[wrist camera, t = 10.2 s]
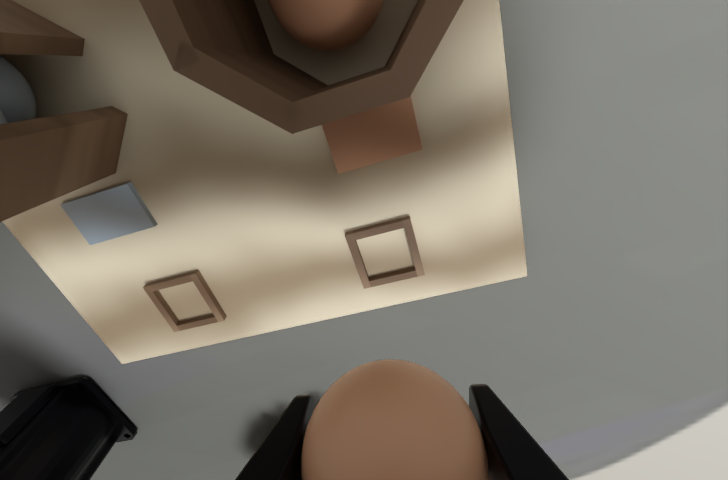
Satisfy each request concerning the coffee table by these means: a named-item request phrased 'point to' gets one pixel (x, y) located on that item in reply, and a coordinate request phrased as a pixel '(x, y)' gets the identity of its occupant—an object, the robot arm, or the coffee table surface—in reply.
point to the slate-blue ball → (2, 118)
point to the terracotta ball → (393, 428)
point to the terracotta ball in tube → (327, 21)
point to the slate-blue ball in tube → (15, 94)
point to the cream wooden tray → (256, 164)
